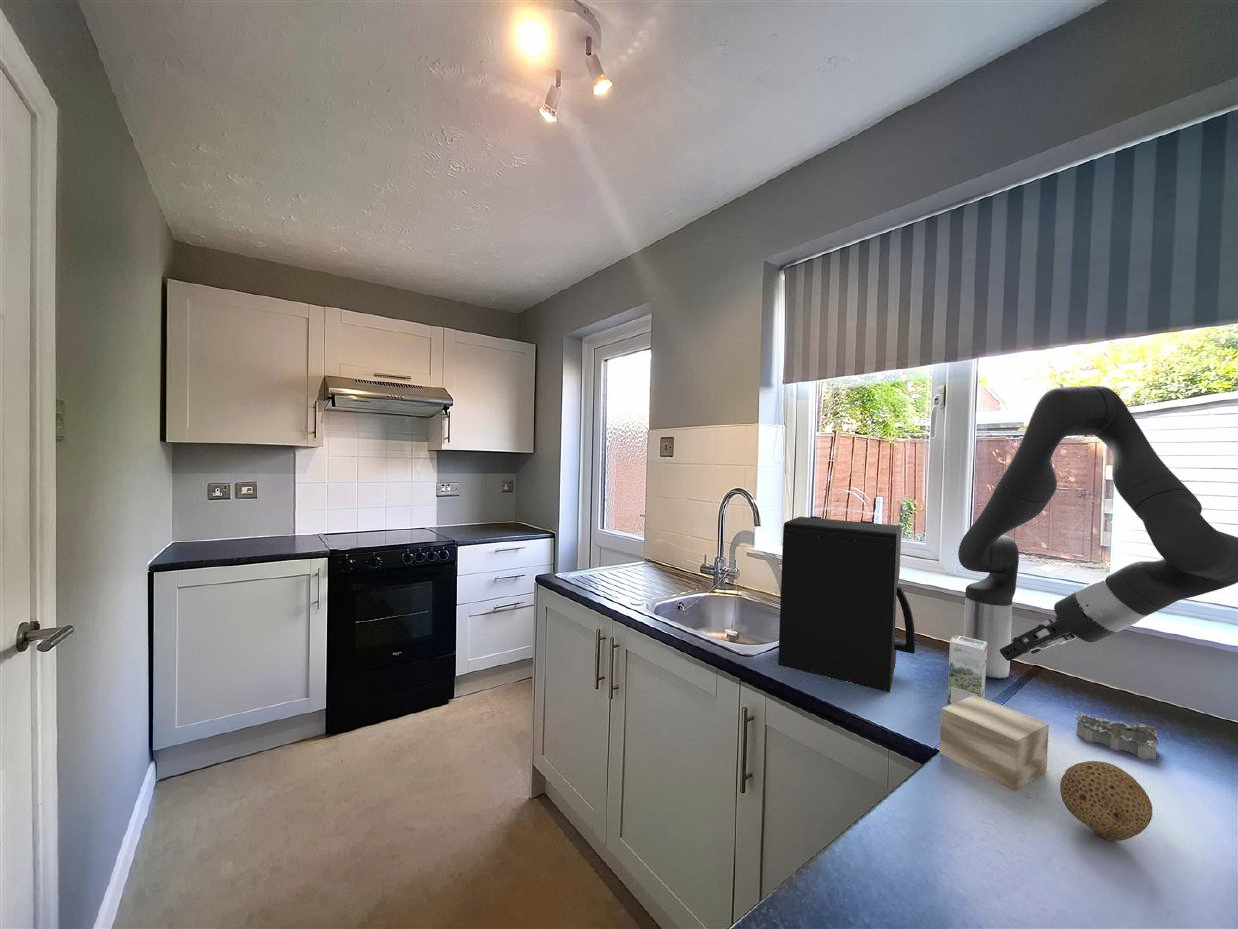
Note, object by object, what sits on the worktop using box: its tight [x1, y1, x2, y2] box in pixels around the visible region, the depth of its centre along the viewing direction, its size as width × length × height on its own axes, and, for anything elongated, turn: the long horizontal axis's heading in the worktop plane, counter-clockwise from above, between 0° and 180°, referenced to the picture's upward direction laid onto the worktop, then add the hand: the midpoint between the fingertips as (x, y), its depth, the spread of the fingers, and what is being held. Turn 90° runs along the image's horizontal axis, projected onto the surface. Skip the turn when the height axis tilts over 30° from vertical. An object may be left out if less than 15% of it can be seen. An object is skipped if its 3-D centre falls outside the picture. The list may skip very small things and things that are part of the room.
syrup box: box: [946, 634, 987, 706], centre depth 101 cm, size 6×6×14 cm
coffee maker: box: [777, 515, 916, 694], centre depth 121 cm, size 28×20×35 cm
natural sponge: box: [1059, 760, 1154, 842], centre depth 68 cm, size 9×9×10 cm
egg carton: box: [1076, 712, 1159, 760], centre depth 91 cm, size 11×8×4 cm
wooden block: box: [939, 695, 1050, 792], centre depth 84 cm, size 11×11×8 cm
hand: (1016, 652), depth 94 cm, fingers open, 8 cm apart
